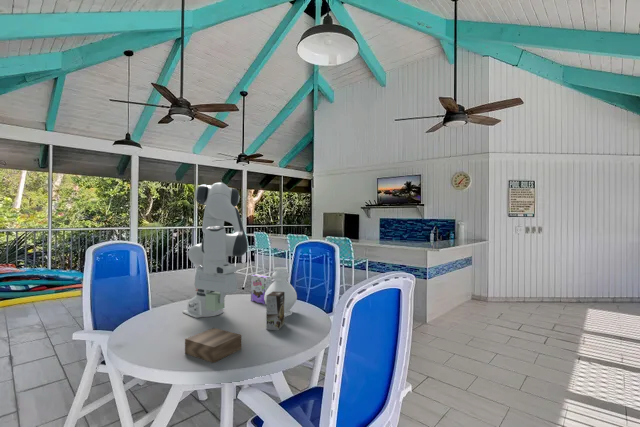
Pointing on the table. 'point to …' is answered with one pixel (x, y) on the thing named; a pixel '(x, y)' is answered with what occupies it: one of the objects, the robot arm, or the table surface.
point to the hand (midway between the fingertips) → (215, 302)
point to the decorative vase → (282, 289)
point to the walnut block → (213, 344)
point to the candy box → (259, 287)
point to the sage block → (213, 301)
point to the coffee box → (275, 311)
